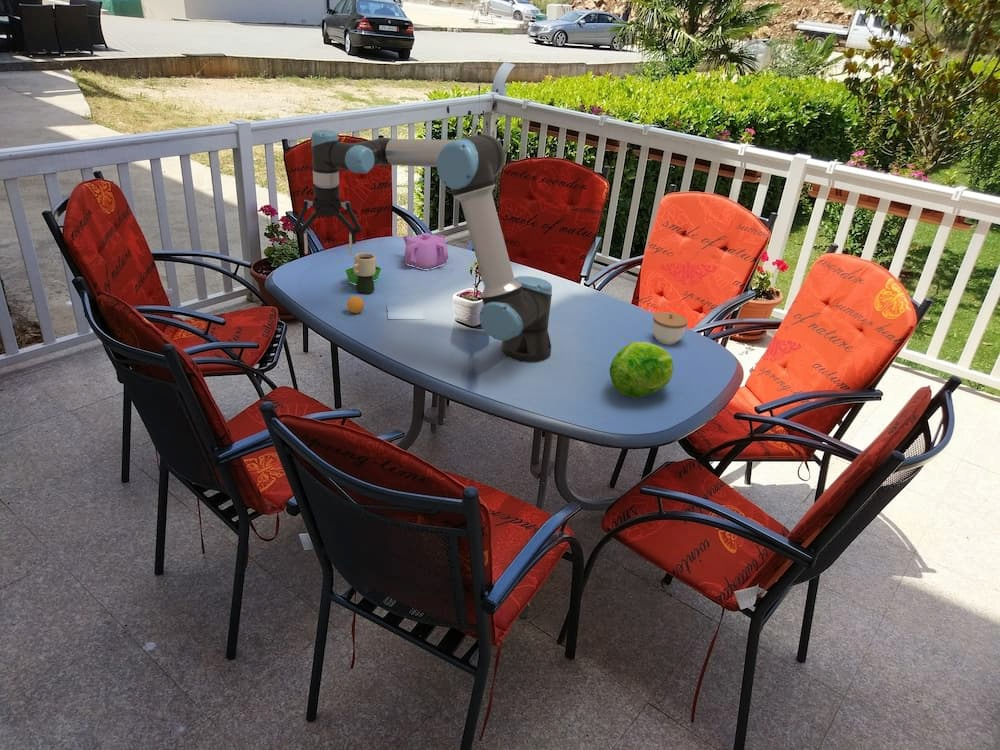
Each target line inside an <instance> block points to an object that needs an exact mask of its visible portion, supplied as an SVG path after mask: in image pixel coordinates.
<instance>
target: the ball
mask: <svg viewBox="0 0 1000 750" xmlns="http://www.w3.org/2000/svg"><path fill="white" fill-rule="evenodd" d="M346 307H347V310H349V312H350V313H353V314H359V313H361V312H362V311H363V310H364V308H365V301H364V300H363V299H362V298H361V297H360V296H357V295H355V296H351V297H350V298H348V300H347V301H346Z"/></svg>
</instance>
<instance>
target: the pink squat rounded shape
mask: <svg viewBox="0 0 1000 750" xmlns="http://www.w3.org/2000/svg"><path fill="white" fill-rule="evenodd" d="M402 239H403V241H404V243H405V250H404V263H407V264H409V265H413V266H415V267H419V268H422V269H431V268H434V267H437V266H439V265H442V264H444V263H446V264H447V261H448V259H449V255H448V254H449V252H448V251H449V249H448V245H447V244H446V243H447V241H446V235H444V234H443V235H442V234H441V235H439V236H438V235H436V234H431V233H429V232H423V233H420V234H417V235H414V236H413V237H410V236H409V235H403V237H402ZM444 265H445V264H444Z"/></svg>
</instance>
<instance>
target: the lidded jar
mask: <svg viewBox="0 0 1000 750" xmlns="http://www.w3.org/2000/svg"><path fill="white" fill-rule="evenodd" d="M687 325H688V319H687V318H686V317H684V316H683V315H680V314H678V313H673V312H669V311H667V312H666V311H664V312H657V313H655V314H654V315H653V318H652V333H653V336H654V337H655V338H656V340H657V342H659V343H660V344H663V345H671V346H672V345H674V344H676V343H677V342H679V341H680V340H681V339H682V338H683V336H684V334H685V332H686V328H687Z"/></svg>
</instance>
